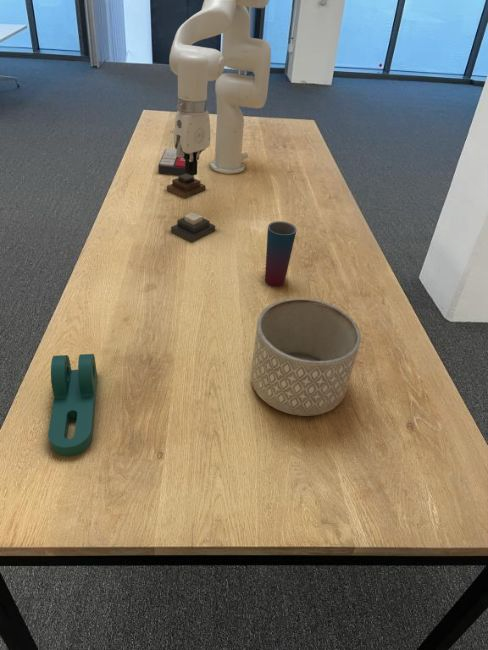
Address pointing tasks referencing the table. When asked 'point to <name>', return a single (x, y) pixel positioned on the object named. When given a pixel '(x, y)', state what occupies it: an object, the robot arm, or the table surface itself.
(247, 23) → the robot arm
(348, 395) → the table surface
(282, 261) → the cup
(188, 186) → the walnut key block
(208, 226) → the block
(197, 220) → the ivory key
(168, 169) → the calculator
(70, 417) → the bracket
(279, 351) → the planter
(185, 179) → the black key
